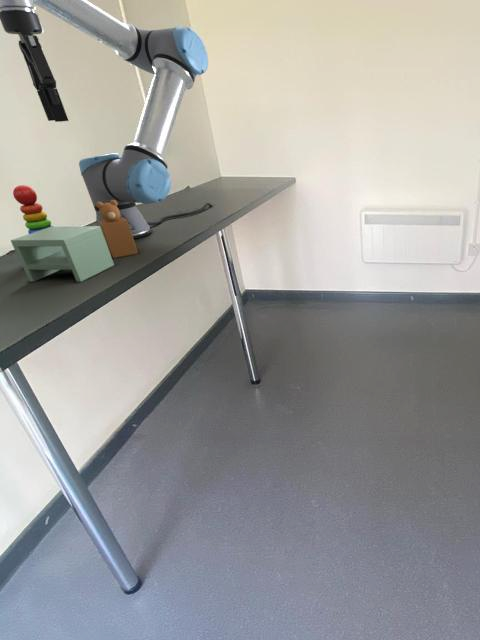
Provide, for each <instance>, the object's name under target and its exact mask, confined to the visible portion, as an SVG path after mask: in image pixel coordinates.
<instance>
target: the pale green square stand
mask: <svg viewBox="0 0 480 640" xmlns="http://www.w3.org/2000/svg"><path fill="white" fill-rule="evenodd" d="M10 242H11V244H12V246H13V250H14V251H15V253H16V255H17V257H18V260H19V262H20V265H21V266H22V268H23V270H24V272H25V274H26V276H27V278H28V280H29V282H36V281H38V280H41V279H43V278H45V277H47V276H50V275H52V274H54V273H57V272H59V271H61V270H62V271H63V270H64V271H66V270H67V271H68V270H70V271H72V274H73V276H74V279H75V282H77V283H82V282H84V281H86V280H88V279H89V278H91V277H93V276H96V275H97V274H100V273H101V272H104V271H106V270H108V269H109V268H112V267H114V266H115V263H114V261H113V257H112V255H111V254H110V251H109V248H108V246H107V243H106V241H105V238H104V236H103V233H102V230H101V228H100V226H97V225H91V226H89V225H87V226H85V225H83V226H82V225H81V226H79V225H78V226H76V225H75V226H54V227H49V228H46V229H43V230H40V231H37V232H34V233H31V234H29V233H28V234H25V235H22V236H19V237H16V238H14V239H10Z"/></svg>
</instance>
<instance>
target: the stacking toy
mask: <svg viewBox="0 0 480 640" xmlns="http://www.w3.org/2000/svg"><path fill="white" fill-rule="evenodd" d="M12 194H13V195H12V196H13V198H14V199H15V201H16V202H17V203H18V204H20V207H19V210H20V212H21V213H22V214H23V215H22V219H23V220H24V222H25V224H24V225H25V227H26V229H28V231H27V233H28V234H31V233H34V232H37V231H40V230H43V229H46V228H49V227H55V226H54V225H52V221H51V220H50V219H49V218H47V217H48V214H47V213H46V211H43V208H44V207H43V206H42V204H40V203H38V202H37V200H38V195H37V193H36V191H35V190H34V189H33V188H32V187H31V186H28V185H24V184H21V185H20V184H19V185H17V186H16V187H14V188H13V192H12Z"/></svg>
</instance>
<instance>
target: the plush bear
mask: <svg viewBox="0 0 480 640" xmlns="http://www.w3.org/2000/svg"><path fill="white" fill-rule="evenodd" d="M117 205H118V203H117V201H116V200H111V201H110V203H104V204H103V203H102V202H97V203H96V206H97V208H99V212H100V215H101V217H102V218H103V219H105V220H104V221H99V224H100V227H101V229H102V232H103V235H104V238H105V240H106V244H107V247H108V249H109V252H110V255H111V257H112V259H116V258H121V257H122V258H123V257H126V256H133V255H137V254H139V252H138V248H137V246H136V243H135V239H133V236H132V234H131V231H130V228H129V225H128V222H127V220H126V219H125V218H119V217H120V211H119V209H118V208H117Z"/></svg>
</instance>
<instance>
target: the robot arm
mask: <svg viewBox="0 0 480 640" xmlns="http://www.w3.org/2000/svg"><path fill="white" fill-rule="evenodd" d="M36 6H38V7H39V8H41V9H42V10H44V11H45V12H47V13H50V14H51V15H52V16H55V17H56V18H58V19H59V20H61V21H64V22H65V23H67V24H68V25H70V26H72V27H74V28H75V29H77V30H79V31H80V32H82V33H83V34H86V35H88V36H90V37H91V38H93V39H94V40H96V41H98V42H99V43H102V44H103V45H105V46H107V47H109V48H110V49H112V50H114V51H115V53H116V55H117V56H118V57H119V58H120V59H122V60H123V61H125V62H127V63H129V64H131V65H133V66H134V67H137V68H139V69H140V70H143V71H145V72H147V73H149V74H152V75H154V76H153V78H152V81H151V85H150V88H149V91H148V95H147V96H146V101H145V103H144V107H143V110H142V113H141V116H140V119H139V122H138V125H137V128H136V131H135V135H134V138H133V141H132V143H130V144H129V143H128V144H126V145H125V146H124V148H123V151H122V155H121V154H119V153H116V152H115V153H107V154H101V155H95V156H91V157H85V158H82V159H80V160H79V162H78V166H79V169H80V170H79V171H80V175H81V177H82V179H83V182H84V184H85V186H86V190H87V192H88V196H89V197H90V200H91V203H92V205H93V209H94V212H95V218H96V219H95V220H96V226H100V224H99V221H104V220H105V219H103V218H102V217H101V215H100V212H99V208H97V206H96V203H97V202H102V203H103V204H104V203H110V201H111V200H116V201H117V203H118V205H117V208H118V209H119V211H120V217H119V218H125V219H126V220H127V222H128V225H129V228H130V231H131V234H132V236H133V239H134V240H135V239H139V238H142V237H146V236H148V235H150V234H151V232H152V230H151V228H150V226H155V225H159V224H160V223H162V222H163V221H164V220H167V219H173V218H180V217H186V216H190V215H194V214H196V213H199V212H201V211H203V210H205V209H206V208H207V207H213V205H212V204H211V203H210V202H205V203H204V205H203V206H201V207H199V208H196V209H194V210H191V211H187V212H182V213H175V214H170V215H169V214H168V215H165V216H163V217H160V218H158V220H156V221H146V219H145V218H144V216H143V214H142V213H141V212H140V210H139V209H138V207H137V204H145V205H147V204H148V205H149V204H157V203H160V202H163V200H165V199H166V198H167V197H168V196H169V193H170V191H171V187H172V180H171V179H170V176H171V175H170V173H169V170H168V168H169V167H168V163H167V162H166V160H165V158H166V154H167V152H168V151H167V150H168V147H169V145H170V141H171V138H172V134H173V132H174V129H175V125H176V122H177V119H178V116H179V112H180V109H181V106H182V102H183V99H184V96H185V93H186V91H188V90H191V89H192V88H193V86H194V84H195V81H196V77H197V76H201V75H203V74H205V73H206V72H207V70H208V67H209V56H208V52H207V50H206V46H205V44H204V41H203V39H201V37H200V36H199V34H198V33H197V32H196V31H194V30H193V29H192V28H190V27H189V26H179V25H177V26H175V27H170V28H161V29H160V28H159V29H150V30H148V29H142V28H138V27H136V26H135V25H133V24H132V23H129V22H121V21H119V20H118V19H117V18H115V17H114V16H112V15H111V14H109V13H108V12H106V11H104V10H102V9H101V8H100V7H98V6H96V5H95V4H93V3H91V2H90V1H88V0H0V23H1V25H2V28H3V30H4V32H5V33H7V34H10V35H18V37H19V40H18V47H19V50H20V52H21V54H22V56H23V59H24V62H25V64H26V66H27V69H28V72H29V76H30V78H31V81H32V85H33V87H34V88H35V90H36V92H37V95H38V97H39V100H40V103H41V106H42V108H43V111H44V113H45V116H46V118H47V121H48V122H50V121H51V122H53V121H54V122H56V123H59V122H61V123H62V122H69V117H68V116H67V112H66V110H65V107H64V104H63V101H62V98H61V96H60V94H59V91H58V88H57V80H56V79H55V77H54V74H53V72H52V70H51V68H50V65H49V62H48V61H47V58H46V56H45V53H44V51H43V47H42V45H41V43H40V41H39V37H38V36H37V35H40V34H43V33H44V28H43V26H42V23H41V19H40V18H39V14H37V12H35V10H36ZM136 203H137V204H136ZM100 228H101V227H100ZM101 230H102V229H101ZM102 233H103V232H102ZM103 236H104V235H103ZM220 239H221V242H222V247H223V251H224V254H225V259H226V263H227V268H228V272H229V276H230V281H231V286H232V289H233V293H234V296H235V297H237V296H238V294H237V289H236V286H235V285H236V284H235V280H234V276H233V272H232V268H231V263H230V259H229V255H228V250H227V246H226V241H225V238H224V235H221V236H220ZM105 241H106V240H105Z"/></svg>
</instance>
